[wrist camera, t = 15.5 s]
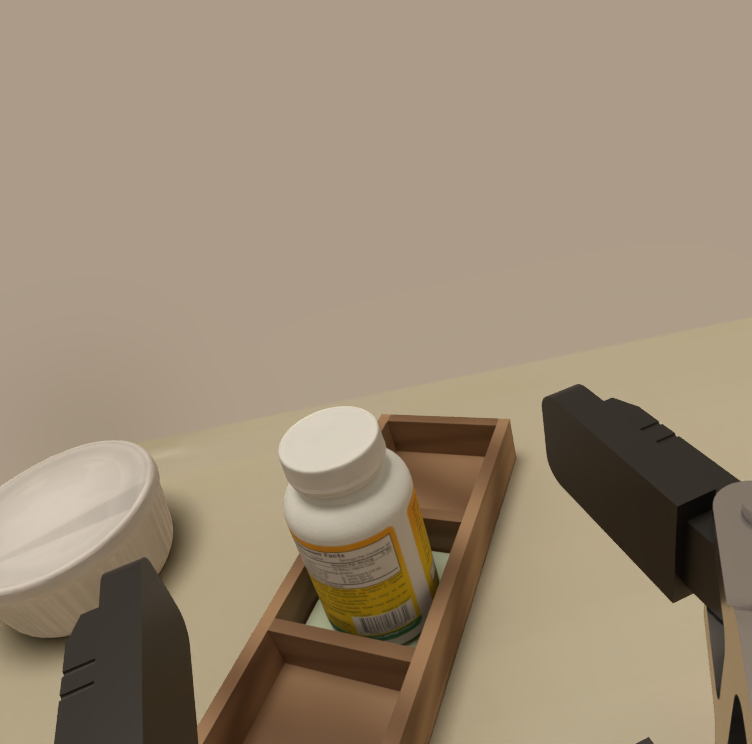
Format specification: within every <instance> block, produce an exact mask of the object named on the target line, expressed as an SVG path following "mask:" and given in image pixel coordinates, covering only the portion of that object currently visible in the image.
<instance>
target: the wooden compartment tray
mask: <svg viewBox="0 0 752 744" xmlns="http://www.w3.org/2000/svg"><path fill="white" fill-rule="evenodd" d="M378 424H379V427H380V430H381V433H382V436H383V439H384V441H385V444H386V448H387V449H389V450H391V451H393V452H394V453H395V454H397V455H398V456H399V457H400V458H401V459H402V460H403V461H404V463H405V464H406V466H407V468H408V469H409V472H410V474H411V477H412V481H413V485H414V488H415V492H416V496H417V500H418V503H419V507H420V511H421V514H422V518H423V521H424V525H425V528H426V532H427V536H428V539H429V543H430V547H431V551H432V554H433V558H434V562H435V565H436V568H437V572H438V577H439V581H440V583H439V586H438V588H437V591H436V594H435V597H434V599H433V602H432V605H431V608H430V610H429V613H428V616H427V619H426V622H425V624H424V627H423V630H422V631H421V632H420V633H419V634H418V635H417V636H415V637H414V638H412V639H411V640H409V641H407V642H405V643H403V644H401V645H400V644H395V643H390V642H386V641H381V640H376V639H371V638H367V637H362V636H357V635H352V634H348V633H343V632H338V631H335V630H334V629H333V628H332V626H331V624H330V622H329V620H328V617H327V615H326V613H325V611H324V608H323V606H322V604H321V601H320V599H319V596H318V594H317V592H316V589H315V587H314V585H313V583H312V580H311V578H310V576H309V573H308V571H307V569H306V567H305V564H304V562H303V560H302V558H301V555H300V554H299V555H298V557H297V559H296V561H295V562H294V564H293V566H292V567H291V569H290V571H289V572H288V574H287V576H286V577H285V579H284V581H283V583H282V584H281V586H280V588H279V589H278V591H277V593H276V594H275V596H274V598H273V599H272V601H271V603H270V605H269V606H268V608H267V610H266V611H265V613H264V615H263V616H262V618H261V620H260V621H259V623H258V625H257V627H256V628H255V630H254V632H253V633H252V635H251V637H250V638H249V640H248V642H247V643H246V645H245V647H244V649H243V650H242V652H241V654H240V655H239V657H238V659H237V660H236V662H235V664H234V666H233V667H232V669H231V671H230V672H229V674H228V676H227V677H226V679H225V681H224V682H223V684H222V686H221V688H220V689H219V691H218V693H217V694H216V696H215V698H214V699H213V701H212V703H211V704H210V706H209V708H208V710H207V711H206V713H205V715H204V716H203V718H202V720H201V721H200V723H199V725H198V726H197V733H198V744H429V741H430V737H431V734H432V731H433V728H434V724H435V721H436V718H437V714H438V711H439V708H440V705H441V701H442V698H443V695H444V692H445V688H446V685H447V682H448V678H449V675H450V672H451V669H452V665H453V662H454V659H455V656H456V652H457V649H458V646H459V642H460V639H461V636H462V633H463V629H464V626H465V623H466V619H467V616H468V613H469V610H470V606H471V603H472V600H473V597H474V593H475V590H476V587H477V583H478V580H479V577H480V574H481V570H482V567H483V564H484V561H485V557H486V554H487V551H488V547H489V544H490V541H491V538H492V534H493V531H494V528H495V524H496V521H497V518H498V515H499V511H500V508H501V505H502V502H503V498H504V495H505V492H506V488H507V485H508V482H509V479H510V475H511V472H512V469H513V466H514V462H515V459H516V453H515V447H514V442H513V436H512V430H511V424H510V419H494V418H467V417H440V416H413V415H386V414H382V415H381V417H380V418H379V420H378Z"/></svg>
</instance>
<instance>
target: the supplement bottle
mask: <svg viewBox="0 0 752 744" xmlns="http://www.w3.org/2000/svg"><path fill="white" fill-rule="evenodd" d="M278 454H279V459H280V462H281V465H282V467H283V470H284V472H285V475H286V478H287V480H288V482H289V484H288V486H287V489H286V492H285V496H284V502H283V509H284V516H285V519H286V522H287V525H288V527H289V530H290V532H291V534H292V537H293V539H294V541H295V544H296V546H297V548H298V551H299V553H300V555H301V558H302V560H303V562H304V564H305V567H306V569H307V571H308V573H309V576H310V578H311V580H312V583H313V585H314V587H315V589H316V592H317V594H318V596H319V599H320V601H321V604H322V606H323V608H324V611H325V613H326V615H327V617H328V620H329V622H330V624H331V626H332V628H333V629H334V630H335V631H338V632H343V633H348V634H352V635H357V636H362V637H367V638H371V639H376V640H381V641H386V642H390V643H395V644H400V645H401V644H403V643H405V642H407V641H409V640H411V639H412V638H414V637H415V636H417V635H418V634H419V633H420V632H421V631H422V630H423V627H424V624H425V622H426V619H427V616H428V613H429V610H430V608H431V605H432V602H433V599H434V597H435V594H436V591H437V588H438V586H439V583H440V581H439V577H438V572H437V568H436V565H435V562H434V558H433V554H432V551H431V547H430V543H429V539H428V536H427V532H426V528H425V525H424V521H423V518H422V514H421V511H420V507H419V503H418V500H417V496H416V492H415V488H414V485H413V481H412V477H411V474H410V472H409V469H408V468H407V466H406V464H405V463H404V461H403V460H402V459H401V458H400V457H399V456H398V455H397V454H395V453H394V452H393V451H391V450H389V449H387V448H386V444H385V441H384V439H383V436H382V433H381V430H380V427H379V424H378V422H377V420H376V418H375V417H374V416H373V415H372V414H371V413H370V412H368V411H367V410H364V409H361V408H358V407H351V406H340V407H331V408H327V409H323V410H320V411H317V412H315V413H312V414H310V415H308V416H306V417H304V418H303V419H301V420H299V421H298V422H297V423H295V424H294V425H293V426H292V427H291V428H290V429H289V430H288V431H287V432H286V433H285V435H284V436H283V438H282V440H281V442H280V445H279V448H278Z"/></svg>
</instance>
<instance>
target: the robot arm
mask: <svg viewBox="0 0 752 744" xmlns="http://www.w3.org/2000/svg"><path fill="white" fill-rule="evenodd" d="M542 412H543V422H544V433H545V443H546V453H547V459H548V463H549V466H550V468H551V470H552V473H553V474H554V476H555V478H556V479H557V481H558V482H559V484H560V485H561V486H562V487H563V488H564V489H565V490H566V491H567V492H568V493H569V494H570V495H571V497H572V498H573V499H574V500H575V501H576V502H577V503H578V504H579V505H580V506H581V507H582V508H583V509H584V510H585V511H586V512H587V513H588V514H589V515H590V517H591V518H592V519H593V520H594V521H595V522H596V523H597V524H598V525H599V526H600V527H601V528H602V529H603V530H604V531H605V532H606V533H607V534H608V535H609V536H610V538H611V539H612V540H613V541H614V542H615V543H616V544H617V545H618V546H619V547H620V548H621V549H622V550H623V551H624V552H625V553H626V554H627V555H628V556H629V558H630V559H631V560H632V561H633V562H634V563H635V564H636V565H637V566H638V567H639V568H640V569H641V570H642V571H643V572H644V573H645V574H646V575H647V576H648V578H649V579H650V580H651V581H652V582H653V583H654V584H655V585H656V586H657V587H658V588H659V589H660V590H661V591H662V592H663V593H664V594H665V595H666V596H667V598H668V599H669V600H670V601H671V602H672V603H675V602H677V601H679V600H681V599H683V598H685V597H687V596H689V595H691V594H693V593H694V594H695V595H696V596H697V597H698V598H699V599H700V600H701V601H702V602H703V603H704V622H705V631H706V640H707V649H708V658H709V667H710V676H711V685H712V695H713V704H714V715H715V744H752V481H740V480H738V479H737V478H735V477H734V476H733V475H731V474H730V473H729V472H727V471H726V470H724V469H723V468H722V467H720V466H719V465H718V464H716V463H715V462H714V461H712V460H711V459H709V458H708V457H707V456H705V455H704V454H703V453H701V452H700V451H699V450H697V449H696V448H694V447H693V446H692V445H690V444H689V443H688V442H686V441H685V440H684V439H682V438H681V437H679V436H678V437H676V435H675V433H674V432H673V431H671V430H670V429H668V428H667V427H666V426H664V425H663V424H661V425H660V424H659V421H658V420H656V419H655V418H653V417H652V416H651V415H649V414H648V413H647V412H645V411H644V410H643V409H641V408H640V407H638V406H635V405H632V404H629V403H627V402H624V401H621V400H618V399H615V398H610V399H608V400H606V401H603V400H601V399H600V398H599V397H598V396H596V395H595V394H594V393H592V392H591V391H590V390H589V389H587V388H586V387H584V386H583V385H580V384H577V385H574V386H572V387H569V388H567V389H564V390H562V391H559V392H557V393H554V394H552V395H549V396H547V397H545V398H544V399H543V401H542ZM63 674H64V677H62V681H61V689H60V697H61V701H59V706H58V715H57V724H56V732H55V741H54V744H198V733H197V721H196V710H195V699H194V688H193V676H192V665H191V654H190V643H189V637H188V632H187V629H186V625H185V622H184V620H183V617H182V615H181V612H180V610H179V609H178V607H177V605H176V604H175V602H174V600H173V599H172V597H171V595H170V594H169V592H168V590H167V588H166V587H165V585H164V583H163V582H162V580H161V578H160V577H159V575H158V573H157V572H156V570H155V568H154V567H153V565H152V564H151V562H150V561H149V560H148V559H147V558H146V557H143V558H141V559H138V560H136V561H133V562H131V563H128V564H126V565H123V566H121V567H118V568H116V569H113V570H111V571H108V572H106V573H104V574H103V575H102V577H101V581H100V596H99V607H98V608H95V609H93V610H91V611H88V612H86V613H83V614H81V615H80V617H79V619H78V621H77V623H76V625H75V627H74V629H73V631H72V633H71V635H70V637H69V639H68V640H67V642H66V646H65V655H64V663H63ZM636 744H653V742H652V741H651V739H650V738H649V737H648V738H646V739H644V740H642V741H640V742H638V743H636Z"/></svg>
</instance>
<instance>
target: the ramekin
mask: <svg viewBox="0 0 752 744" xmlns="http://www.w3.org/2000/svg"><path fill="white" fill-rule="evenodd" d="M159 481H160V477H159V471H158V468H157V465H156V463H155V461H154V460H153V458H152V457H151V455H150V454H149V453H148V452H147V450H145V449H144V448H143V447H141V446H140V445H137V444H135V443H131V442H127V441H120V440H108V441H100V442H94V443H89V444H85V445H81V446H78V447H75V448H72V449H69V450H67V451H64V452H61V453H59V454H57V455H54V456H52V457H50V458H48V459H46V460H44V461H42V462H40V463H38V464H36V465H34V466H32V467H31V468H29V469H27V470H25V471H24V472H22V473H20V474H18V475H17V476H15V477H13V478H12V479H11V480H9V481H8V482H6V483H5V484H3V485H2V486H0V620H1V621H3V622H4V623H6V624H7V625H8V626H10V627H11V628H13V629H15V630H17V631H18V632H20V633H22V634H26V635H29V636H32V637H39V638H55V637H64V636H70V635H71V633H72V631H73V629H74V627H75V625H76V623H77V621H78V619H79V617H80V615H81V614H83V613H86V612H88V611H91V610H93V609H95V608H98V607H99V596H100V581H101V577H102V575H103V574H104V573H106V572H108V571H111V570H113V569H116V568H118V567H121V566H123V565H126V564H128V563H131V562H133V561H136V560H138V559H141V558H143V557H146V558H147V559H148V560H149V561H150V562H151V564H152V565H153V567H154V568H155V570H156V572H157V573H158V575H159V573H160V572H161V570H162V568H163V566H164V564H165V562H166V560H167V558H168V555H169V551H170V548H171V545H172V540H173V524H172V517H171V514H170V511H169V508H168V505H167V502H166V499H165V497H164V494H163V491H162V488H161V485H160V483H159Z"/></svg>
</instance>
